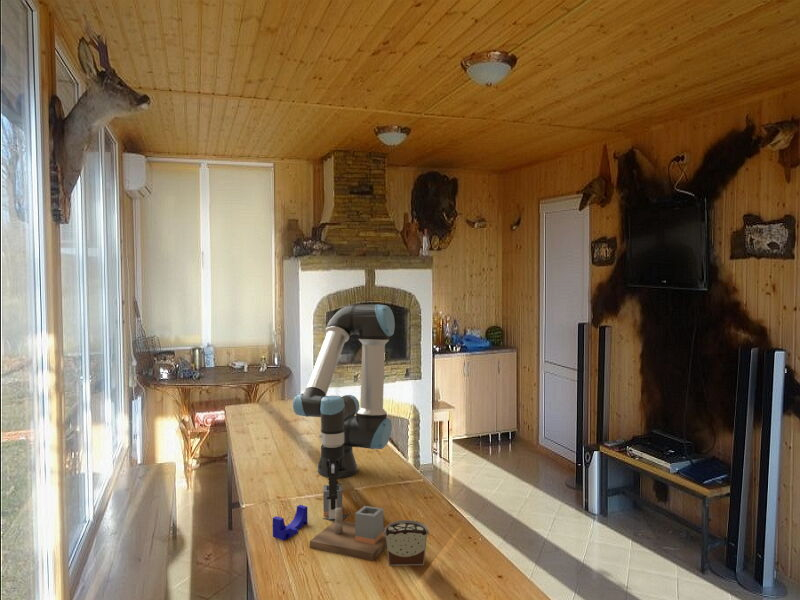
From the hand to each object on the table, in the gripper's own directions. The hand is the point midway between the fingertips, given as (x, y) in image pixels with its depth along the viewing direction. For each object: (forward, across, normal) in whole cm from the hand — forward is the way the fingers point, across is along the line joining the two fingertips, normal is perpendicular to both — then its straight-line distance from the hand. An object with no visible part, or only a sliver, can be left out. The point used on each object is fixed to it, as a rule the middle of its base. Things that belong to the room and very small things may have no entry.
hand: (332, 511), depth 195 cm
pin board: (+1, +22, +6) cm, 23 cm away
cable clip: (+1, +12, -12) cm, 17 cm away
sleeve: (0, 0, 0) cm, 0 cm away
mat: (+1, 0, 0) cm, 1 cm away
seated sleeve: (-1, +24, +10) cm, 26 cm away
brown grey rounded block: (+1, +34, +19) cm, 39 cm away
